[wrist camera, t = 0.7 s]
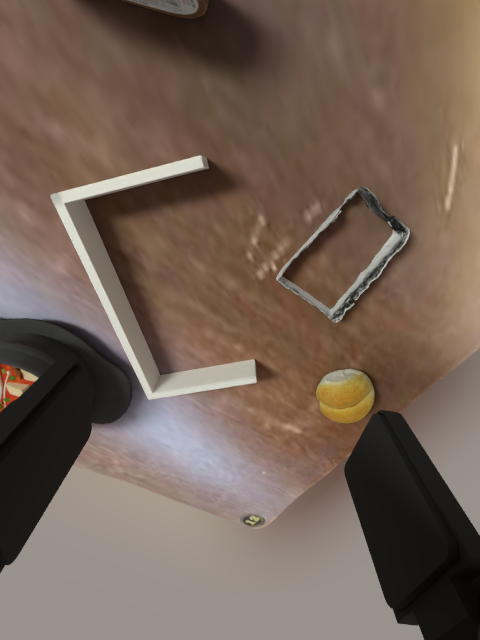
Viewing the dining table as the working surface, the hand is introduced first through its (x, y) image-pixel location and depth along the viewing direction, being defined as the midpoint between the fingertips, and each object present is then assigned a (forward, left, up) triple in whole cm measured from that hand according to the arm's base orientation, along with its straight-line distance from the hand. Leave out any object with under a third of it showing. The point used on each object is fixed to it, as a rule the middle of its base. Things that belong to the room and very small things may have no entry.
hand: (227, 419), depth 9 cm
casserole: (+32, +12, -27) cm, 44 cm away
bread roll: (-10, +25, -27) cm, 39 cm away
